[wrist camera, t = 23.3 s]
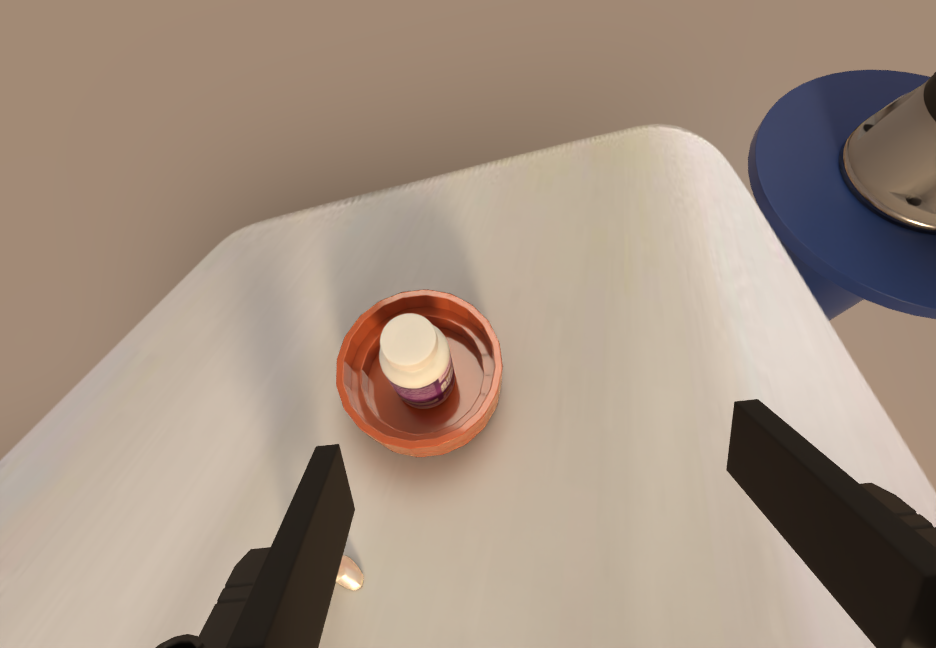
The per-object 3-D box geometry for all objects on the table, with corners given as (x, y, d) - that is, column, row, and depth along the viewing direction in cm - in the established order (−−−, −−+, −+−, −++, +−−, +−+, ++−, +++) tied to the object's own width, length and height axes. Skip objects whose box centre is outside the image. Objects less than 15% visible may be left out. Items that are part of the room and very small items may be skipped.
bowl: (491, 307, 44) (491, 282, 40) (509, 448, 39) (512, 437, 34) (353, 322, 44) (337, 298, 40) (353, 465, 39) (334, 457, 34)
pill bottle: (460, 403, 40) (452, 368, 31) (399, 415, 40) (373, 383, 31) (450, 346, 42) (439, 297, 34) (392, 357, 42) (366, 311, 33)
